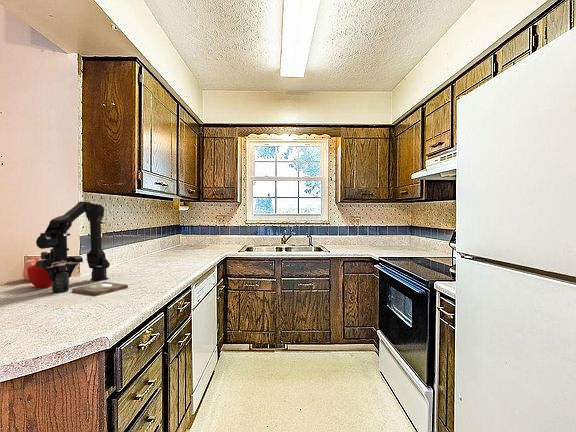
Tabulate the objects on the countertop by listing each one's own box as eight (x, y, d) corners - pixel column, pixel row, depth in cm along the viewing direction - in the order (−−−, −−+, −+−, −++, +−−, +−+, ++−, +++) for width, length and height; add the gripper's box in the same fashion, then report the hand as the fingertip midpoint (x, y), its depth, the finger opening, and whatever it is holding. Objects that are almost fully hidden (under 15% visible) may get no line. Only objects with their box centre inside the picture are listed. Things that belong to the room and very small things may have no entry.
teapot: (44, 282, 192) (44, 258, 192) (17, 283, 189) (17, 259, 189) (56, 275, 212) (55, 254, 211) (31, 276, 208) (31, 254, 208)
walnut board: (105, 284, 187) (104, 281, 186) (127, 287, 179) (127, 284, 179) (72, 291, 171) (72, 287, 171) (95, 295, 164) (95, 291, 164)
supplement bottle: (72, 289, 176) (72, 264, 175) (62, 293, 169) (62, 266, 168) (58, 289, 176) (58, 263, 176) (48, 292, 170) (47, 266, 169)
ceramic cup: (50, 281, 194) (50, 262, 194) (63, 286, 183) (63, 265, 183) (20, 285, 184) (20, 265, 184) (32, 290, 173) (32, 269, 173)
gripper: (68, 243, 184) (68, 275, 184) (27, 247, 167) (28, 282, 168) (83, 244, 179) (83, 277, 179) (43, 248, 162) (43, 284, 163)
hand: (60, 280), depth 172 cm, fingers closed on supplement bottle, 7 cm apart
